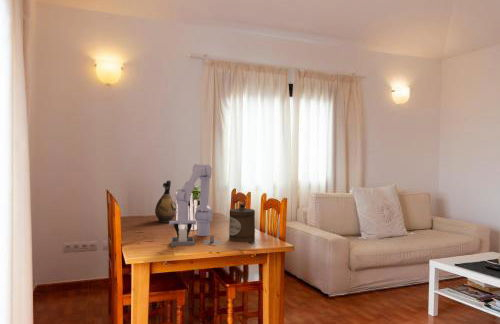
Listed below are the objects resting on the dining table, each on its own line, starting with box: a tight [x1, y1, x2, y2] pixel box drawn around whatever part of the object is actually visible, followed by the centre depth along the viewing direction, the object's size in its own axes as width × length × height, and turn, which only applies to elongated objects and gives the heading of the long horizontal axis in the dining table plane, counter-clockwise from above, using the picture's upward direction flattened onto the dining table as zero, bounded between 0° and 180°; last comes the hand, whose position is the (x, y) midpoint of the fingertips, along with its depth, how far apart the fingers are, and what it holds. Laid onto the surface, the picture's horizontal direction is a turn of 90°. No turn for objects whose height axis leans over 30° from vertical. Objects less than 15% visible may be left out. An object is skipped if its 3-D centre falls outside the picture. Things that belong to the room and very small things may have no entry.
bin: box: [170, 236, 195, 249], centre depth 218 cm, size 12×12×3 cm
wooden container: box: [228, 202, 256, 244], centre depth 230 cm, size 15×15×22 cm
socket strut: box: [178, 228, 188, 242], centre depth 218 cm, size 4×4×6 cm
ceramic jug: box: [154, 180, 177, 223], centre depth 292 cm, size 17×15×30 cm
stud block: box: [201, 234, 223, 246], centre depth 220 cm, size 12×10×5 cm
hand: (182, 237), depth 218 cm, fingers closed on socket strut, 4 cm apart
